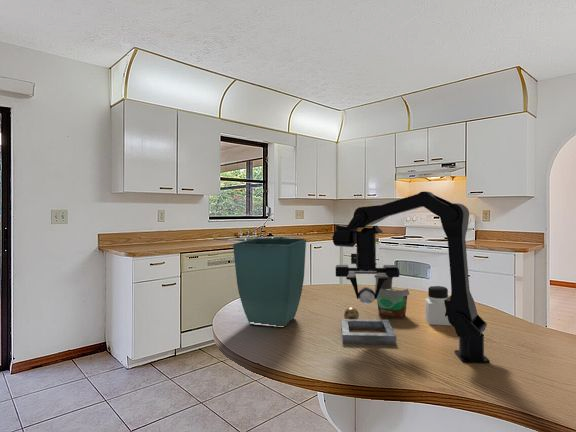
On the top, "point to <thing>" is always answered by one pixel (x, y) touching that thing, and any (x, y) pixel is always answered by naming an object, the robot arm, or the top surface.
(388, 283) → the coffee cup
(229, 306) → the top surface
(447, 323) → the medicine bottle
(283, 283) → the flower pot
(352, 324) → the grey square frame
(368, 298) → the steel ball
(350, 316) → the bronze ball
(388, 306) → the food container
